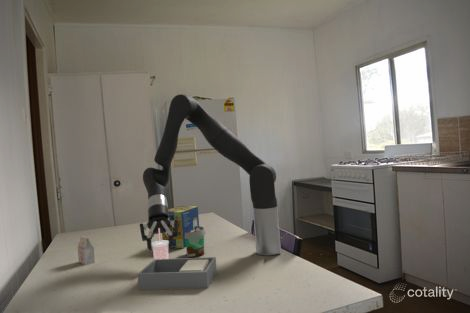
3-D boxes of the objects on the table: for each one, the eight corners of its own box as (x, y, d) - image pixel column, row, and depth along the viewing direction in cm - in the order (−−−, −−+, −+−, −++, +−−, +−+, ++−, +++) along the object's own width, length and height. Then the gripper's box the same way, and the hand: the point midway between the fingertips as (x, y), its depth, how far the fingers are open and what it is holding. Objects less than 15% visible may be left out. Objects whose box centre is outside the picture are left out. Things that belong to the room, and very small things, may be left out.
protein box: (162, 247, 149) (159, 212, 149) (181, 238, 163) (178, 205, 163) (183, 248, 145) (180, 211, 145) (200, 239, 160) (198, 205, 159)
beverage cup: (162, 271, 118) (159, 230, 118) (149, 269, 121) (146, 229, 121) (174, 265, 123) (171, 226, 123) (161, 263, 127) (158, 225, 126)
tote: (216, 274, 111) (215, 257, 111) (208, 291, 98) (206, 272, 98) (155, 275, 114) (154, 259, 114) (138, 292, 101) (137, 274, 101)
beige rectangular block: (210, 273, 110) (209, 259, 110) (203, 285, 100) (201, 270, 100) (188, 273, 111) (187, 259, 111) (179, 286, 101) (178, 270, 101)
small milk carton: (88, 259, 140) (86, 234, 139) (94, 262, 135) (92, 237, 135) (78, 262, 137) (76, 236, 137) (85, 265, 132) (83, 239, 132)
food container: (202, 259, 128) (200, 232, 128) (186, 259, 129) (184, 233, 129) (210, 249, 140) (209, 225, 140) (196, 250, 142) (194, 225, 141)
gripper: (137, 205, 128) (138, 245, 116) (176, 201, 131) (181, 239, 119) (139, 217, 133) (140, 256, 122) (177, 213, 136) (181, 251, 125)
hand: (160, 248), depth 121 cm, fingers closed on beverage cup, 6 cm apart
